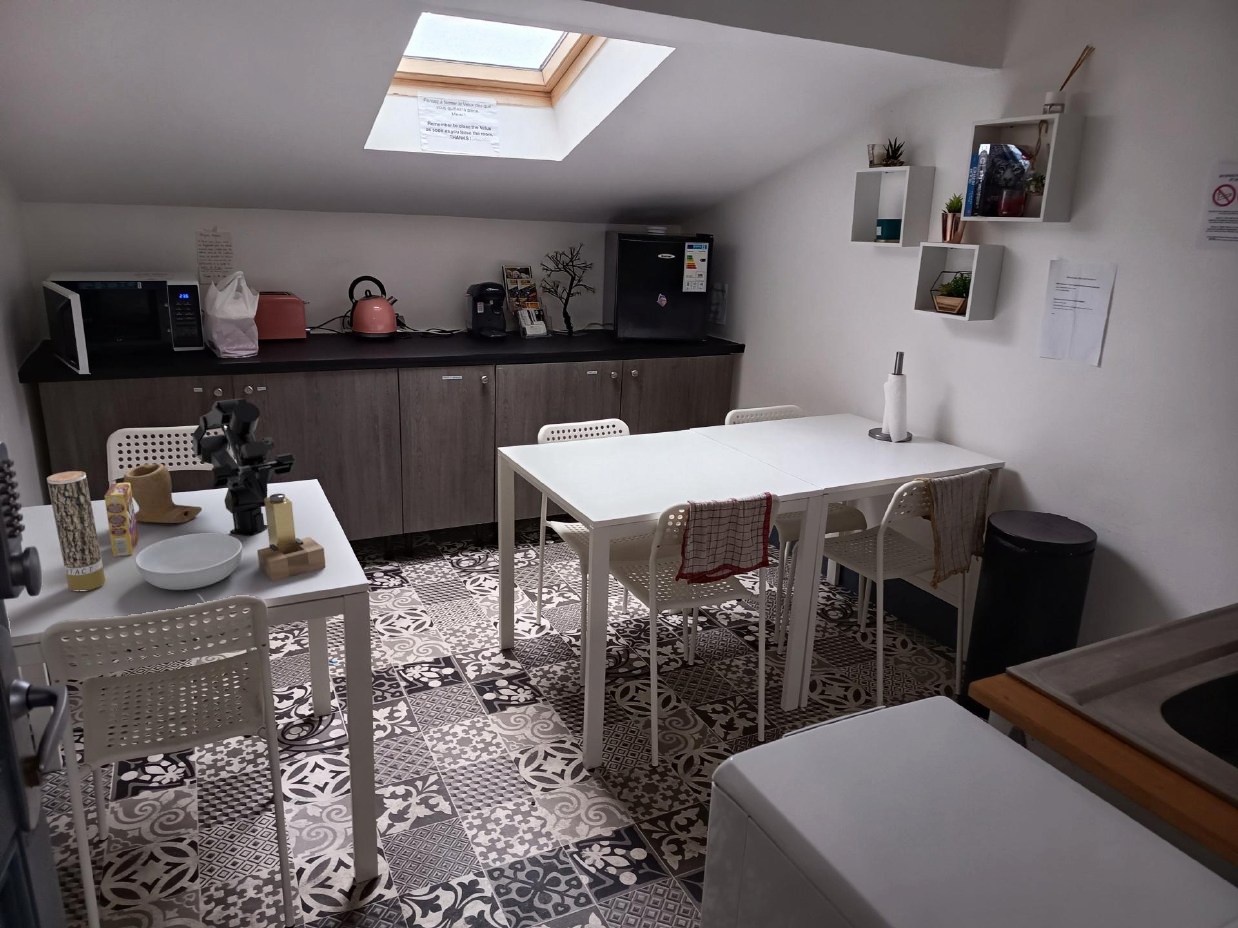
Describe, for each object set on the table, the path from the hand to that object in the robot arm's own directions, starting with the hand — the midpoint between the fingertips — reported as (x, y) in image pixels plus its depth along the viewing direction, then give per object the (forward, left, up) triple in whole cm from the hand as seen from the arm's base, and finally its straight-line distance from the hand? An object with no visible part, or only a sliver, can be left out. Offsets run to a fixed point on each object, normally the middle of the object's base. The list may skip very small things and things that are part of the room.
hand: (265, 500), depth 197 cm
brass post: (+8, -5, -12) cm, 15 cm away
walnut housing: (+11, -7, -12) cm, 18 cm away
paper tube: (-24, -29, -13) cm, 40 cm away
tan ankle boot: (-38, +6, -13) cm, 40 cm away
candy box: (-32, -11, -13) cm, 36 cm away
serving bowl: (-5, -19, -13) cm, 23 cm away
